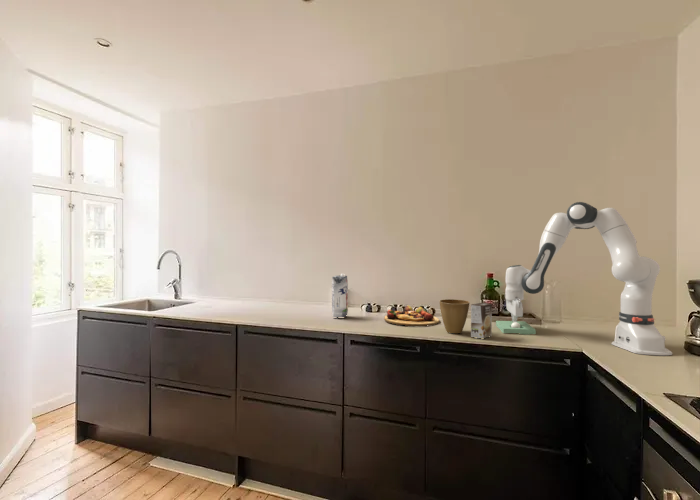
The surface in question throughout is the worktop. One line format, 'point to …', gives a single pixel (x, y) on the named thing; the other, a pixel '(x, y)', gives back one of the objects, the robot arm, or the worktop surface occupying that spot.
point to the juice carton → (339, 296)
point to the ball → (515, 325)
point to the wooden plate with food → (411, 317)
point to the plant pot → (454, 314)
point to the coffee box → (481, 320)
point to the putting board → (506, 328)
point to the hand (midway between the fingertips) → (514, 322)
